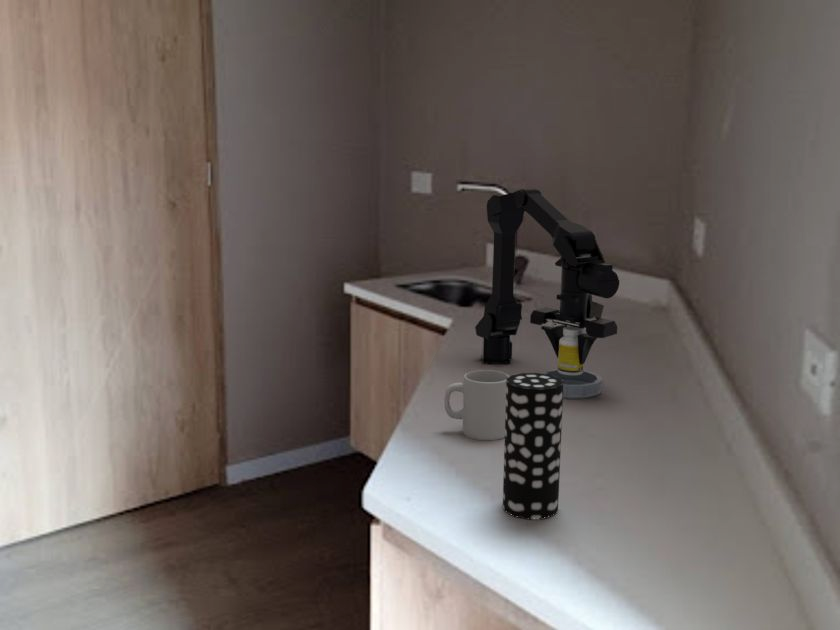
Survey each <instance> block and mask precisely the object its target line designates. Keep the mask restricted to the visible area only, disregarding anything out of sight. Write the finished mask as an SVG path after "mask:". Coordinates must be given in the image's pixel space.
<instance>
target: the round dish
mask: <svg viewBox="0 0 840 630" xmlns="http://www.w3.org/2000/svg"><path fill="white" fill-rule="evenodd" d="M541 373H542V374H548V375H553V376H556V377H559V378H560V379H562V380H563V382H564V384H563V399H566V400H567V399H568V400H569V399H570V400H585V399H591V398H596V397H598V396H600V395H601V393H602V389H603V378H602V377H601V375H600V374H598V373H595V372H593V371H590V370H585V369H583V373H582V374H580V375H576V376H571V375H563V374H561V373H559V372H558V368H555V369H554V368H553V369H547V370H544V371H543V372H541Z"/></svg>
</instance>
